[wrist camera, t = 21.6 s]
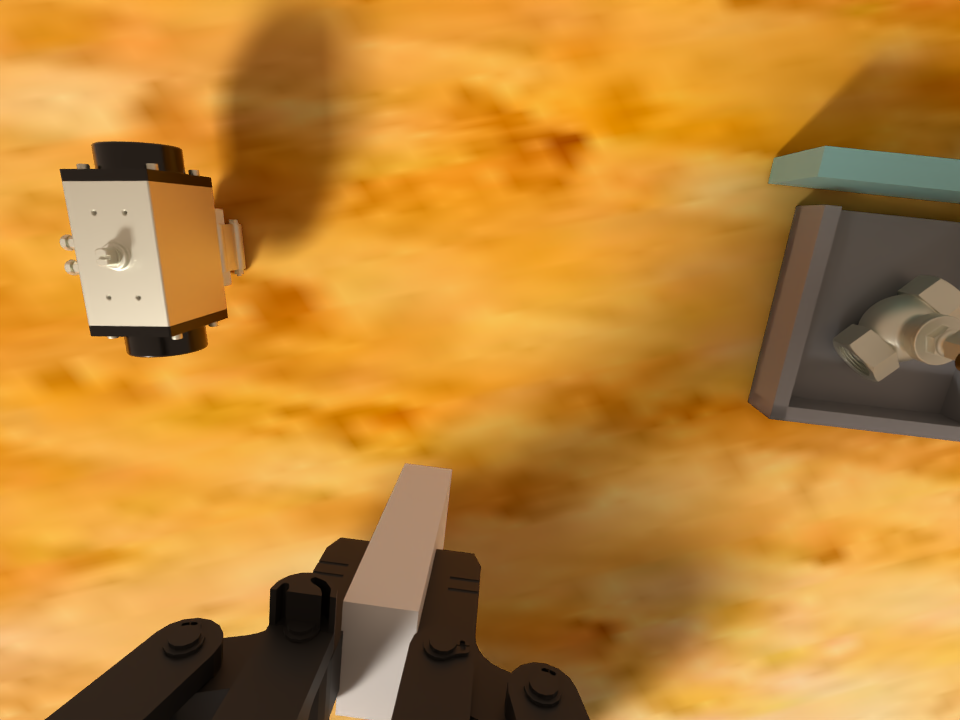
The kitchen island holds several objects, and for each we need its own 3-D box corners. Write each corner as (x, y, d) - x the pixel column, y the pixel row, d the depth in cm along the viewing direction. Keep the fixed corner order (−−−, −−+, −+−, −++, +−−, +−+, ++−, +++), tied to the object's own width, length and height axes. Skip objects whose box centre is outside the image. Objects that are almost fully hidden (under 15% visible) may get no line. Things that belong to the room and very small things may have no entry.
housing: (982, 429, 39) (1064, 466, 33) (747, 401, 40) (787, 432, 34) (1075, 183, 35) (1187, 175, 29) (808, 155, 35) (866, 142, 29)
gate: (1000, 207, 35) (1096, 205, 29) (768, 183, 36) (817, 176, 30) (1008, 182, 35) (1108, 174, 29) (773, 157, 35) (825, 145, 29)
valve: (947, 326, 37) (1147, 376, 25) (861, 387, 38) (1013, 460, 27) (894, 253, 36) (1076, 270, 24) (807, 318, 37) (940, 363, 26)
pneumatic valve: (245, 161, 38) (125, 134, 26) (262, 325, 41) (162, 367, 29) (169, 161, 38) (17, 135, 26) (191, 324, 41) (64, 366, 29)
